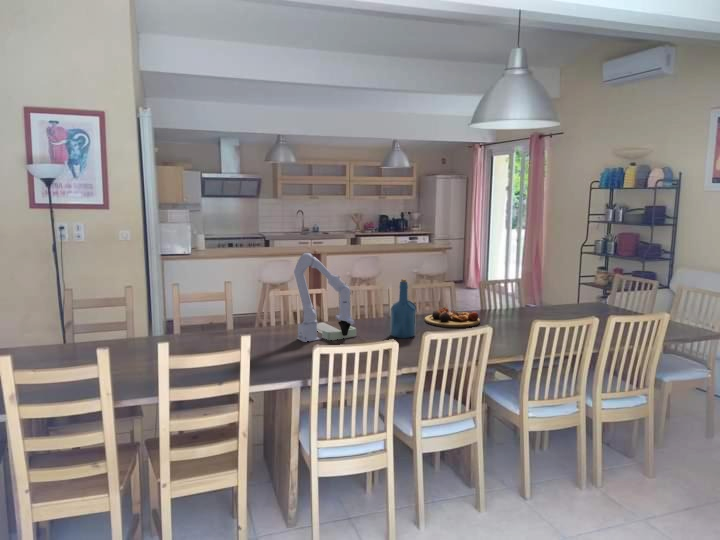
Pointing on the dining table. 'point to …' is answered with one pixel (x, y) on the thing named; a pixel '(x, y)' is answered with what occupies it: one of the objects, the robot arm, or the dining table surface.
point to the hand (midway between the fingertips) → (344, 335)
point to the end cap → (338, 334)
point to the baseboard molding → (325, 327)
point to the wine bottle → (403, 315)
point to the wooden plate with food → (452, 318)
